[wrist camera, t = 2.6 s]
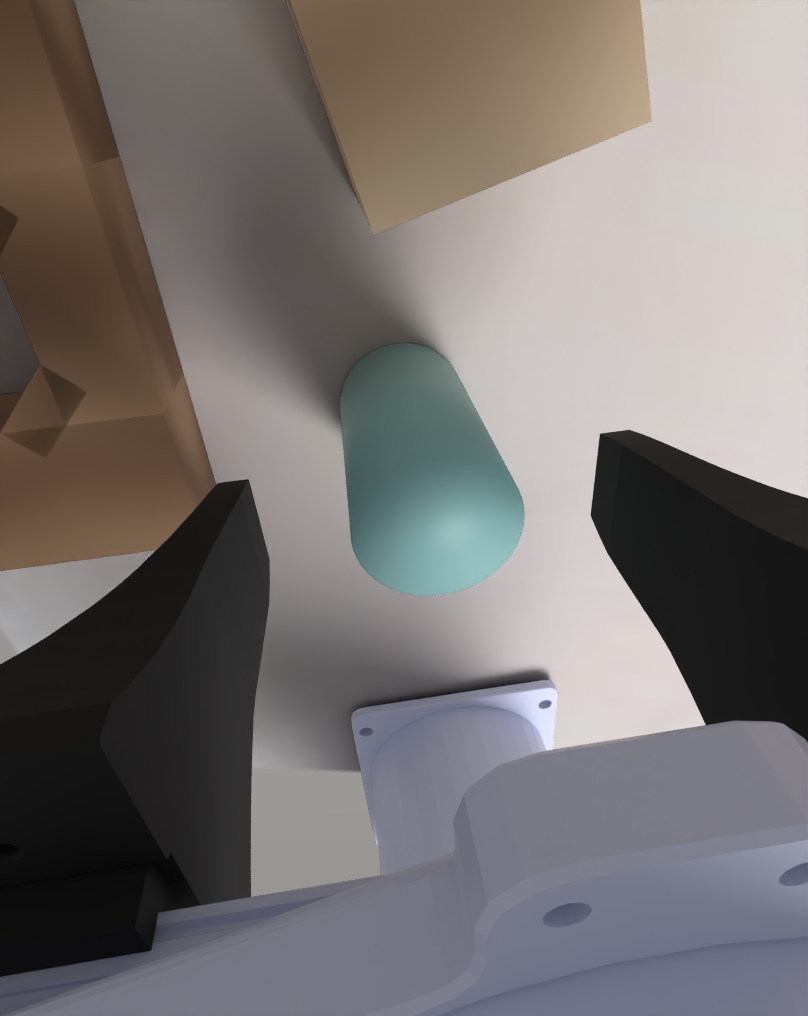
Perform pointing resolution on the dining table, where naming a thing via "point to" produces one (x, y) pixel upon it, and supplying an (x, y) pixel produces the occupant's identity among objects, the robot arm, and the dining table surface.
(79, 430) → the socket block
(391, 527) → the teal dowel
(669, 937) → the robot arm
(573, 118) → the wooden cube block
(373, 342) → the dining table surface
